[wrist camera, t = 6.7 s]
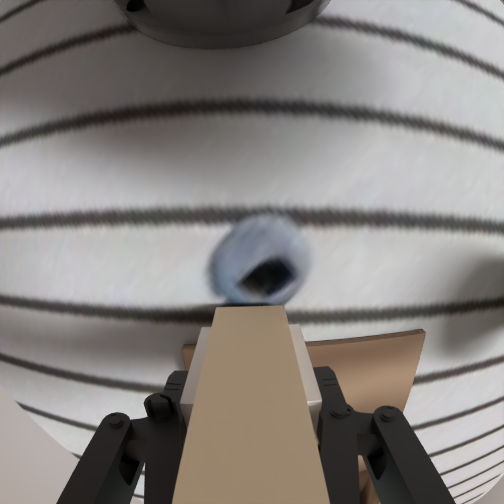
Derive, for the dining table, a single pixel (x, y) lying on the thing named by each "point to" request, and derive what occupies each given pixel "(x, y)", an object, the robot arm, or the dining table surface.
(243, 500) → the tall block and cube
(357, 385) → the wooden tray with compartments
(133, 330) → the dining table surface
